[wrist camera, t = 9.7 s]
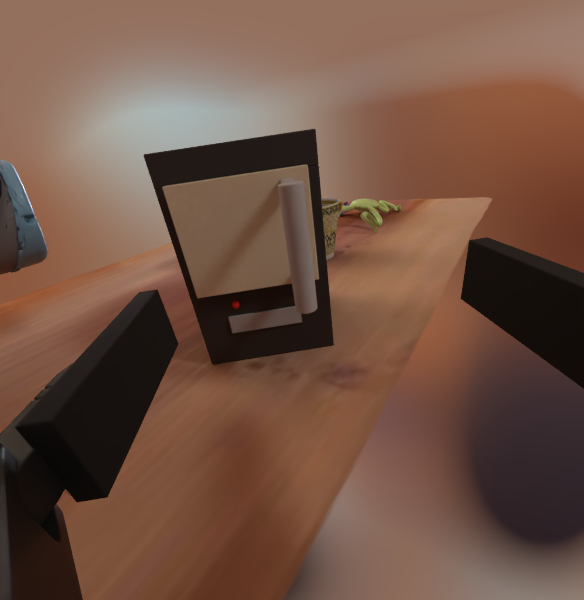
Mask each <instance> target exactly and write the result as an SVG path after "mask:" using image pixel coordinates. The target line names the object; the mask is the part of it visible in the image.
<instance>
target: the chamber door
mask: <svg viewBox="0 0 584 600" xmlns="http://www.w3.org/2000/svg"><path fill="white" fill-rule="evenodd" d="M162 189H163V192H164V195H165V198H166V201H167V204H168V207H169V211H170V214H171V217H172V220H173V223H174V226H175V229H176V233H177V236H178V239H179V242H180V245H181V248H182V251H183V255H184V258H185V261H186V264H187V267H188V270H189V273H190V277H191V280H192V283H193V286H194V289H195V292H196V295H197V298H203V297H210V296H216V295H222V294H229V293H235V292H241V291H248V290H254V289H260V288H267V287H273V286H279V285H285V284H292V287H293V294H294V301H295V307H296V311H297V312H299V313H302V314H308V313H312V312H314V311H315V310H316V309H317V298H316V289H315V280H317V279H319V273H318V263H317V253H316V243H315V233H314V223H313V213H312V203H311V193H310V183H309V172H308V165H299V166H292V167H286V168H279V169H273V170H266V171H259V172H253V173H246V174H240V175H233V176H227V177H220V178H213V179H207V180H200V181H194V182H187V183H181V184H174V185H167V186H164V187H162Z"/></svg>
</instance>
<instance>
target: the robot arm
mask: <svg viewBox="0 0 584 600" xmlns="http://www.w3.org/2000/svg"><path fill="white" fill-rule="evenodd" d="M47 254H48V249H47V245H46V241H45V238H44V236H43V233H42V230H41V228H40V226H39V223H38V221H37V219H36V217H35V214H34V211H33V209H32V206H31V203H30V201H29V199H28V196H27V194H26V192H25V189H24V187H23V185H22V183H21V180H20V178H19V176H18V174H17V172H16V170H15V168H14V167H13V165H12V164H11V163H10V162H8V161H6V160H0V274H4V273H8V272H16V271H18V270H20V269H21V268H24V267H27V266H31V265H34V264H37V263H40V262H42V261H43V260H44V259H45V258H46V257H47ZM461 299H462V300H464V301H465V302H466V303H467V304H469V305H470V306H472V307H473V308H475V309H476V310H477V311H478V312H480V313H481V314H483V315H484V316H485V317H487V318H488V319H489V320H491V321H492V322H494V323H495V324H496V325H498V326H499V327H500V328H502V329H503V330H504V331H506V332H507V333H508V334H510V335H511V336H513V337H514V338H515V339H517V340H518V341H519V342H521V343H522V344H524V345H525V346H526V347H528V348H529V349H530V350H532V351H533V352H535V353H536V354H537V355H539V356H540V357H541V358H543V359H544V360H546V361H547V362H548V363H549V364H551V365H552V366H554V367H555V368H556V369H558V370H559V371H560V372H562V373H563V374H565V375H566V376H567V377H569V378H570V379H571V380H573V381H574V382H576V383H577V384H578V385H580V386H581V387H582V388H584V273H582V272H579V271H577V270H574V269H571V268H568V267H566V266H563V265H560V264H557V263H555V262H552V261H550V260H547V259H544V258H541V257H539V256H536V255H533V254H531V253H528V252H525V251H522V250H520V249H517V248H514V247H512V246H509V245H506V244H503V243H501V242H498V241H495V240H493V239H490V238H481V239H475V240H469V246H468V253H467V260H466V267H465V274H464V280H463V288H462V294H461ZM177 346H178V342H177V339H176V337H175V334H174V331H173V329H172V326H171V324H170V321H169V318H168V316H167V313H166V311H165V308H164V305H163V303H162V300H161V298H160V295H159V292H158V290H152V291H145V292H139V293H138V294H137V295H136V296H135V297H134V298H133V300H132V301H131V302H130V303H129V304H128V305H127V306H126V307H125V308H124V309H123V310H122V311H121V312H120V314H119V315H118V316H117V317H116V318H115V319H114V320H113V321H112V322H111V323H110V324H109V325H108V327H107V328H106V329H105V330H104V331H103V332H102V333H101V334H100V335H99V336H98V337H97V338H96V340H95V341H94V342H93V343H92V344H91V345H90V346H89V347H88V348H87V349H86V350H85V351H84V353H83V354H82V355H81V356H80V357H79V358H78V359H77V360H76V361H75V362H74V363H73V364H71V365H70V366H68V367H67V368H66V369H64V370H63V371H61V372H60V373H59V374H57V375H56V376H55V377H54V378H53V379H52V380H51V381H50V382H49V384H48V385H47V386H46V387H45V390H42V391H41V392H40V393H39V394H38V395H37V396H36V397H35V398H34V399H35V400H34V401H31V402H30V403H29V405H28V406H27V407H26V408H25V409H24V410H23V411H22V412H21V413H20V414H19V415H18V416H17V417H16V418H15V419H14V420H13V421H12V422H11V423H10V424H9V426H8V427H7V428H6V429H5V430H4V431H3V432H2V433H1V434H0V600H83V599H82V594H81V590H80V586H79V581H78V577H77V573H76V568H75V564H74V559H73V555H72V551H71V546H70V542H69V538H68V533H67V529H66V525H65V520H64V516H63V512H62V511H61V509H60V508H59V507H58V506H57V504H56V503H57V501H58V500H59V498H60V496H61V495H62V493H63V491H64V490H65V489H66V490H67V491H68V492H69V493H70V495H71V496H72V497H73V498H74V499H75V501H76V502H82V501H88V500H94V499H100V498H106V497H108V495H109V493H110V490H111V488H112V486H113V484H114V482H115V480H116V477H117V475H118V473H119V471H120V469H121V467H122V465H123V462H124V460H125V458H126V456H127V454H128V452H129V449H130V447H131V445H132V443H133V441H134V439H135V436H136V434H137V432H138V430H139V428H140V426H141V423H142V421H143V419H144V417H145V415H146V413H147V411H148V408H149V406H150V404H151V402H152V400H153V398H154V395H155V393H156V391H157V389H158V387H159V385H160V382H161V380H162V378H163V376H164V374H165V372H166V369H167V367H168V365H169V363H170V361H171V359H172V357H173V354H174V352H175V350H176V348H177Z"/></svg>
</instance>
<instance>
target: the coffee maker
mask: <svg viewBox="0 0 584 600" xmlns="http://www.w3.org/2000/svg"><path fill="white" fill-rule="evenodd" d="M144 158H145V161H146V164H147V167H148V170H149V174H150V176H151V179H152V182H153V186H154V189H155V192H156V195H157V198H158V201H159V204H160V207H161V210H162V213H163V216H164V219H165V222H166V225H167V228H168V231H169V234H170V237H171V240H172V243H173V246H174V249H175V252H176V255H177V258H178V262H179V265H180V268H181V271H182V274H183V277H184V280H185V283H186V286H187V289H188V292H189V295H190V298H191V301H192V304H193V307H194V310H195V313H196V316H197V319H198V322H199V325H200V328H201V331H202V334H203V337H204V340H205V343H206V346H207V349H208V352H209V355H210V358H211V362H212V364H219V363H225V362H231V361H237V360H243V359H250V358H256V357H262V356H268V355H274V354H281V353H287V352H293V351H299V350H305V349H311V348H318V347H324V346H330V345H334V343H333V331H332V319H331V307H330V296H329V284H328V272H327V260H326V248H325V236H324V224H323V213H322V201H321V189H320V177H319V166H318V155H317V142H316V130H315V129H311V130H304V131H297V132H290V133H283V134H277V135H270V136H264V137H257V138H250V139H244V140H237V141H230V142H224V143H217V144H211V145H204V146H197V147H190V148H184V149H177V150H171V151H164V152H158V153H150V154H144ZM299 165H308V172H309V183H310V193H311V203H312V213H313V223H314V233H315V243H316V253H317V263H318V273H319V279H317V280H315V289H316V298H317V309H316V310H315V311H314V312H312V313H308V314H302V313H299V312H297V311H296V307H295V301H294V294H293V287H292V284H285V285H279V286H273V287H267V288H260V289H254V290H248V291H241V292H235V293H229V294H222V295H216V296H210V297H203V298H197V295H196V292H195V289H194V286H193V283H192V280H191V277H190V273H189V270H188V267H187V264H186V261H185V258H184V255H183V251H182V248H181V245H180V242H179V239H178V236H177V233H176V229H175V226H174V223H173V220H172V217H171V214H170V211H169V207H168V204H167V201H166V198H165V195H164V192H163V189H162V187H164V186H167V185H174V184H181V183H187V182H194V181H200V180H207V179H213V178H220V177H227V176H233V175H240V174H246V173H253V172H259V171H266V170H273V169H279V168H286V167H292V166H299Z"/></svg>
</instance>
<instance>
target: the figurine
mask: <svg viewBox="0 0 584 600" xmlns="http://www.w3.org/2000/svg"><path fill="white" fill-rule="evenodd" d="M380 205H381V206H380ZM388 207H389V208H391V209H393V210H395V211H400V210H401V209H402V207H401V205H397V206H395V205H393V204H390V203H389V202H386V201H384V200H380V201H379V204H378V202H377V201H375V200H372V199H358V200H355V201H353V202H352V203H351V205H350V206H349V204H348V202H346V203H344V205H342V211H341V213H340V215H339V216H341V215H343V214H344V213H346V212H347V211H350V210H354V209H355V210H358V211H360V212H361V213H362V214H361V215H360V217H361V218H362V219H363V220H364V221H365V222H366V223H367V224H369V225H370V226H371V227H372V229H373V230H374V232H375V233H377V232H378V231H377V229H376V227H375V226H374V225H376V226H378V227H379V226H381V225H382V218H381V216H380V214H379V213H378V212H377V210H376V209H378V210H380V211H381V212H383V213H388V211H389V209H388ZM369 211H370V212H371V213H373V215H374V216H375V217H376V219H377V220H376V219H375V218H374V217H373V216H372V215H371V214H370V213H368V212H369ZM367 217H368V218H369V219H370V220H371V221H372V222H373V224H374V225H373V224H372V223H371V222H370V221H369V220H368V218H367Z"/></svg>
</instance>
